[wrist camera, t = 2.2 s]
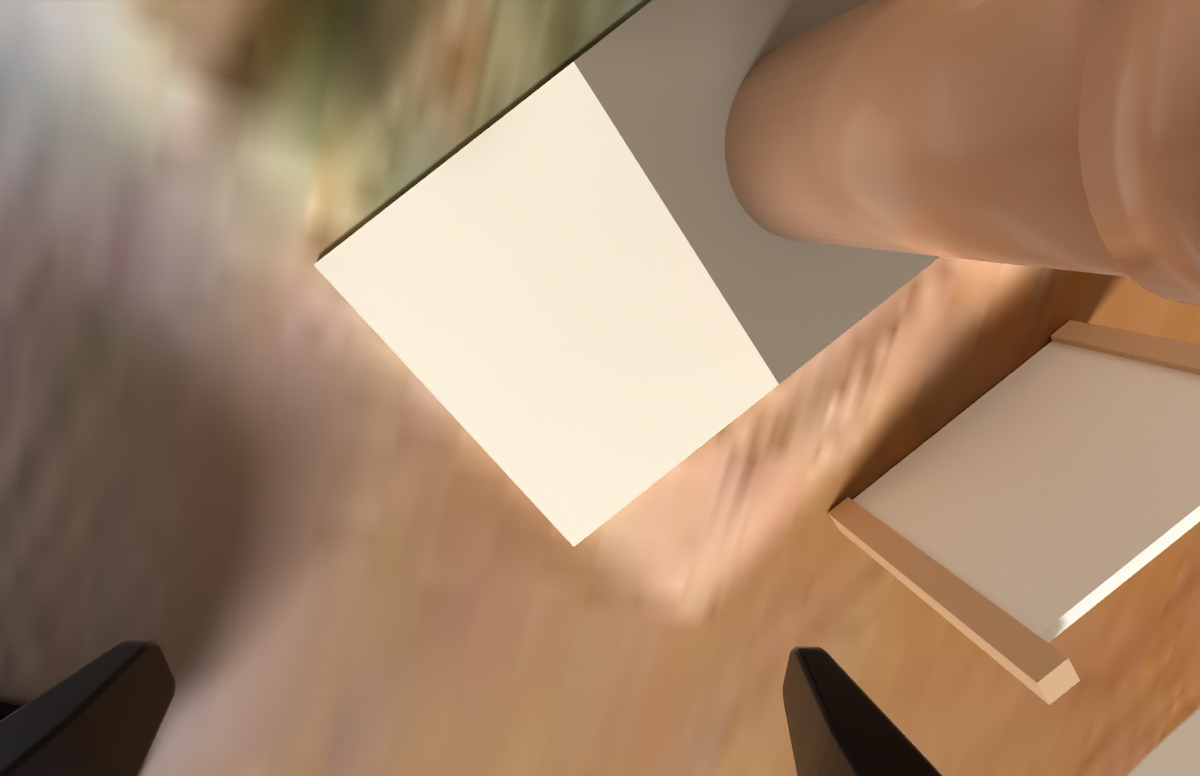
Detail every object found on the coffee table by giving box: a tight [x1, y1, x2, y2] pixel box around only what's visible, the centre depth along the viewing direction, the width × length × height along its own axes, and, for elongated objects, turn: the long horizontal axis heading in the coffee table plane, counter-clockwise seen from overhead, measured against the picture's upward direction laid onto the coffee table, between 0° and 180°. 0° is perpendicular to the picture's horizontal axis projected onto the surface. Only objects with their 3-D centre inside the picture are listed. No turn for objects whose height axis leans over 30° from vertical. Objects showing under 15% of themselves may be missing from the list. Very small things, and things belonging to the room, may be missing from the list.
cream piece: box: [314, 0, 1200, 705], centre depth 16 cm, size 21×19×9 cm
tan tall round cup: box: [725, 0, 1200, 306], centre depth 13 cm, size 7×7×13 cm
